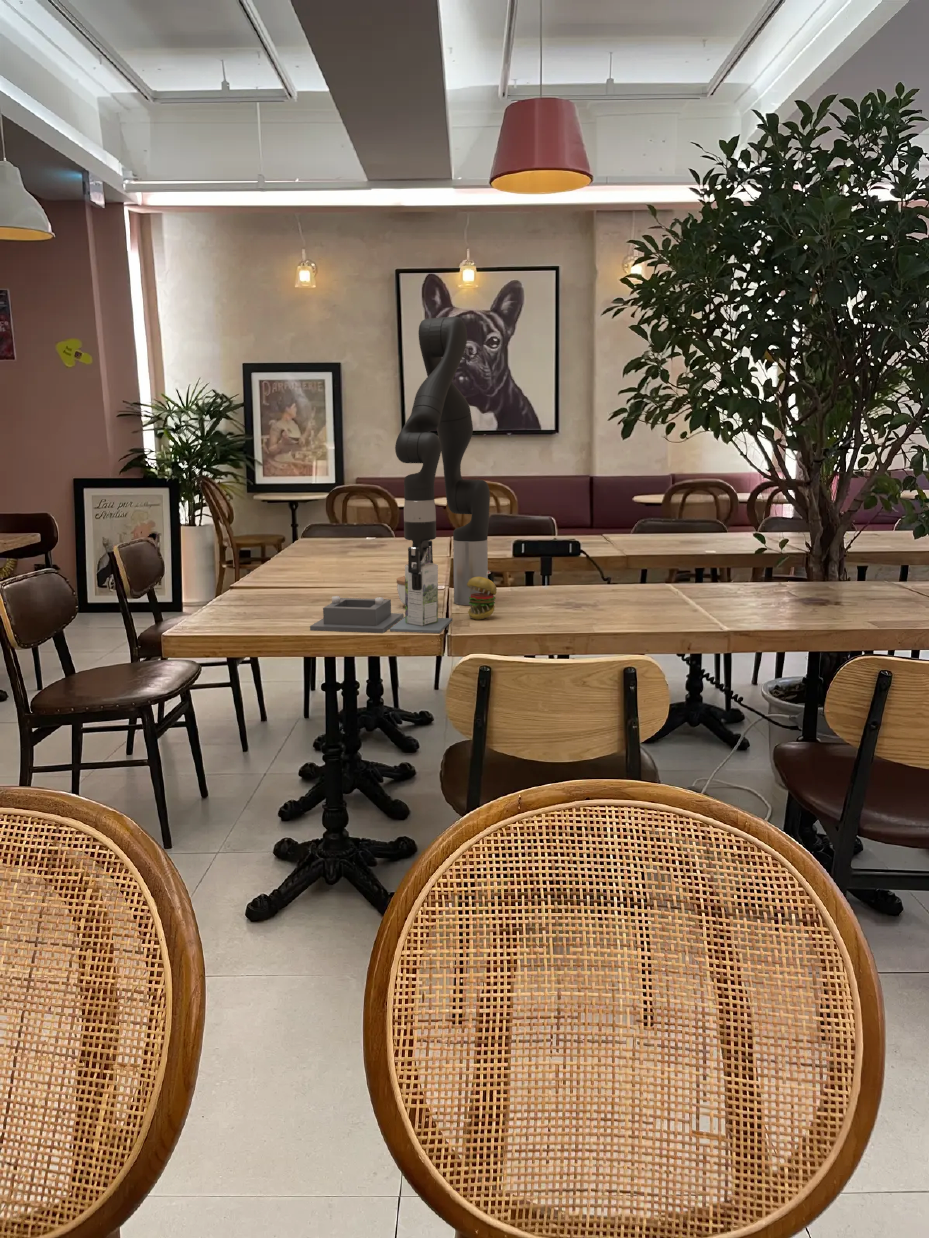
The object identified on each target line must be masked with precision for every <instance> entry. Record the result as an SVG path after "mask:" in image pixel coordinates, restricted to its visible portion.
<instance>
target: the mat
mask: <svg viewBox="0 0 929 1238" xmlns="http://www.w3.org/2000/svg"><path fill="white" fill-rule="evenodd" d="M452 622H453V618H449V617H438V622H436V623H433V624H429V625H425V626H420V625H413V624H407V623H406V622H405V616H404V617H403V618H402V619H401V620H400V621H398V622H397V623H396V624H394V625H393V626H392V627H390V628H389V632H399V633H400V632H403V633H424V634H425V633H428V634H429V633H431V634H432V633H433V634H440V633H441V632H442V631H443V630H445V628H446V627H448V625H449V624H451V623H452Z"/></svg>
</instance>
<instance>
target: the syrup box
mask: <svg viewBox="0 0 929 1238" xmlns="http://www.w3.org/2000/svg"><path fill="white" fill-rule="evenodd" d="M414 568H417V566H415V567H414ZM404 576H405V605H404V606H405V610H404V611H405V612H404V613H405V615H404V617H405V622H406V623H407V624H413V625H420V626H425V625H429V624H433V623H436V622H438V618H439V564H437V563H434V562H433V563H429V562H425V566H423V567H422V589H421V590H413V589H412V574H411V573H409V572H408V564H405V566H404Z"/></svg>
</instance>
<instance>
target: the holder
mask: <svg viewBox="0 0 929 1238" xmlns="http://www.w3.org/2000/svg"><path fill="white" fill-rule="evenodd" d="M322 616H323V618H321V619H320V620H318V621H316V622H314V623H313V624H311V625H310V626H309V630H310V631H317V632H318V631H321V632H322V631H324V632H351V633H371V634H372V633H374V634H376V633H377V634H384V633H385V632H387V631H388V630H390V628H391V626H392V627H393V626H394V625H395V623H396V624H397V623H398V622H399V620H400V619H401V620H402V619H403V618H404V617H405V615H404V613H399V612H394V613H393V612H392V601H391V598H390V599H387V598H386V599H385V598H384V597H382V596H381V597H380V596H379V597H375V598H357V597H356V598H354V597H353V598H352V597H341V596H339V595H335V596H334V595H333V596H331V603H329V604H327V605H326V606H324V607H322Z"/></svg>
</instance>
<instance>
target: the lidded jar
mask: <svg viewBox="0 0 929 1238" xmlns="http://www.w3.org/2000/svg"><path fill="white" fill-rule="evenodd" d="M396 584H397V587H396V588H397V594H398V595H397V596H398V598H399V600H400V602H401V603H402V604H403V605H404V606H405V575H403V576H399V577H397V578H396Z"/></svg>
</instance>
